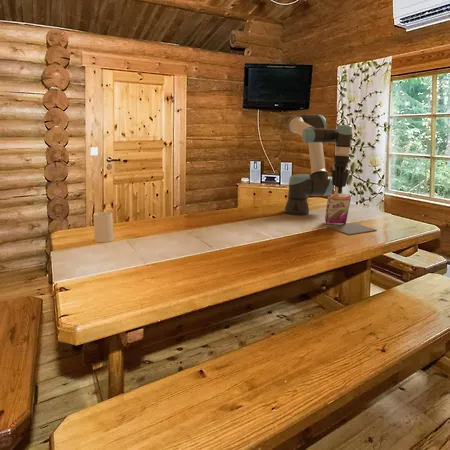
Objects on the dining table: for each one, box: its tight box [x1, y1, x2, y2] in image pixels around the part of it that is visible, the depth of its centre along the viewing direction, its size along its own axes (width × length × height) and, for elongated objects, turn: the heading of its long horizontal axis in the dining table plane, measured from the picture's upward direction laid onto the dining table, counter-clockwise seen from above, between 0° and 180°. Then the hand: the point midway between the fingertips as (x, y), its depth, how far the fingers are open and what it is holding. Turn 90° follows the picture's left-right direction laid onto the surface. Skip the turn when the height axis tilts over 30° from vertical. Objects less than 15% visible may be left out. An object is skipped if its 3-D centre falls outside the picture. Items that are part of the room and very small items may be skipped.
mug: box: [93, 211, 115, 244], centre depth 178 cm, size 12×8×12 cm
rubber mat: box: [326, 222, 378, 236], centre depth 208 cm, size 16×20×1 cm
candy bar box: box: [324, 193, 351, 224], centre depth 213 cm, size 11×5×16 cm, turn 85°
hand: (337, 199), depth 214 cm, fingers closed
